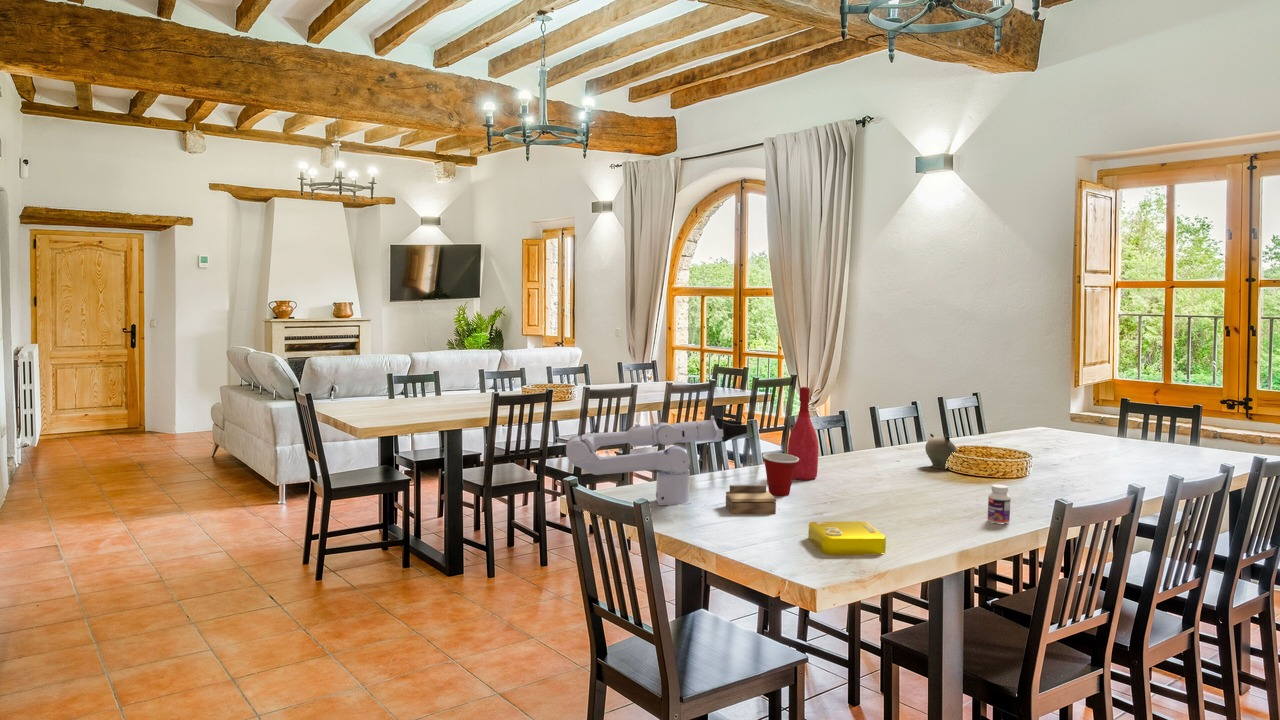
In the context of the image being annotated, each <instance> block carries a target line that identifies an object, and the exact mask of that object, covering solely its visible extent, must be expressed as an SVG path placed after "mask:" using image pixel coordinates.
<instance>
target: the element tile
mask: <svg viewBox="0 0 1280 720" xmlns="http://www.w3.org/2000/svg"><path fill="white" fill-rule="evenodd" d="M807 535H808V536H807V537H808V540H809V541H810V543H811V544H813V546H814V547H816V549H817V550H819V552H820V553H822V554H824V555H827V556H829V555H830V556H859V555H860V556H863V555H865V554H881V553H885V554H886V548H887V547H886V544H887V543H886V542H887V536H886V535H885V534H883V533H882V532H880V531H879V530H877V529H876V528H875V527H874V526H873V525H871V524H870V523H868V522H866V521H863V520H862V521H855V520H853V521H811V522H809V523H808V534H807ZM881 555H882V554H881ZM865 556H866V555H865Z"/></svg>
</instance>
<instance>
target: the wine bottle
mask: <svg viewBox="0 0 1280 720" xmlns="http://www.w3.org/2000/svg"><path fill="white" fill-rule="evenodd" d="M810 390H811V389H810V388H809V387H807V386H802V387H800V388H799V398H798V399H799V402H800V404H799V412H798V415H797V418H796V421H795V423H794V425H793V428H792V429H791V431H790V434H789V437H788V443H787V454H788V455H792V456H795V457H797V458H799V461H798V462H797V464H796V467H795V470H794V475H793V479H794V480H801V481H811V480H814V479H816V478H817V477H818V465H819V440H818V436H817V433H816V430H815V426H814V425H813V421H812V419H811V414H810V411H809V410H810V409H809V402H810V392H811V391H810Z"/></svg>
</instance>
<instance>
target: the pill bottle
mask: <svg viewBox="0 0 1280 720" xmlns="http://www.w3.org/2000/svg"><path fill="white" fill-rule="evenodd" d="M1008 491H1009V486H1008V485H1006V484H991V492H990V493H989V494H988V503H987V521H988V522H989V521H990V522H989V523H991V522H993V523H992V524H994V522H995V523H1008V524H1009V523H1010V516H1011V500H1012V499H1011V495H1010V494H1008V493H1009V492H1008Z"/></svg>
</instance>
